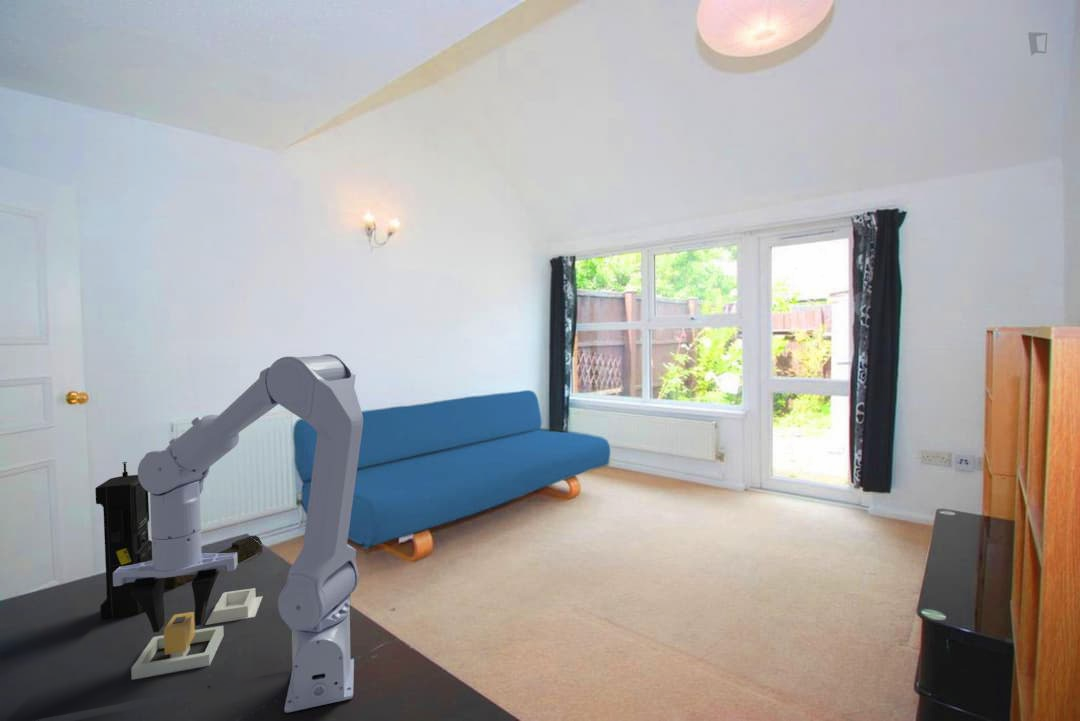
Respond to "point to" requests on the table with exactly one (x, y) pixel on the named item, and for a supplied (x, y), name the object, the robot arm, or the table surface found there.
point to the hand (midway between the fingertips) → (179, 625)
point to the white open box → (235, 606)
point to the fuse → (179, 634)
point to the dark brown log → (241, 547)
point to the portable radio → (123, 539)
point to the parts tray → (179, 663)
